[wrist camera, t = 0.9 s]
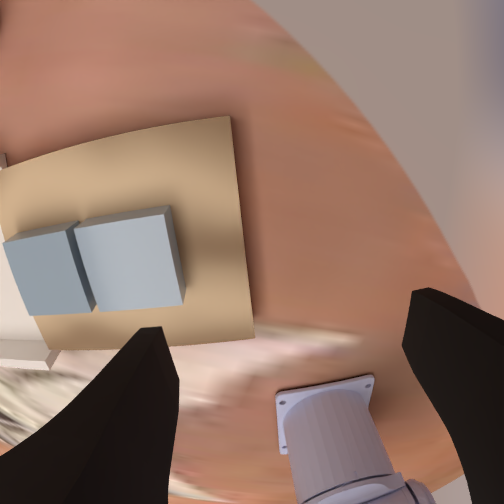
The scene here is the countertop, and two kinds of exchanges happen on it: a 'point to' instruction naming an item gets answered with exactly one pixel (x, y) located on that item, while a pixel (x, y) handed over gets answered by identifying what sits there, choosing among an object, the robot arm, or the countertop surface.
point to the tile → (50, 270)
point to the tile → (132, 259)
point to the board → (141, 197)
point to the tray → (18, 322)
